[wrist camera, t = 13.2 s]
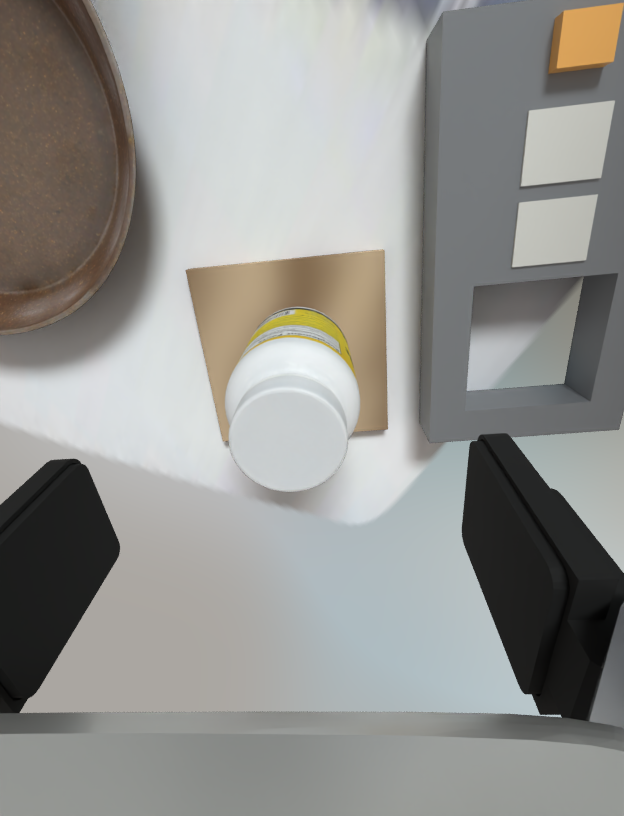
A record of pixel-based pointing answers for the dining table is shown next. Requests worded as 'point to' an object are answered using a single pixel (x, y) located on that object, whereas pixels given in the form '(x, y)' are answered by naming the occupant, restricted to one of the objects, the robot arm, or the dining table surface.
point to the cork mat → (296, 287)
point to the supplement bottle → (292, 401)
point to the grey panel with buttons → (524, 205)
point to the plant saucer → (59, 161)
